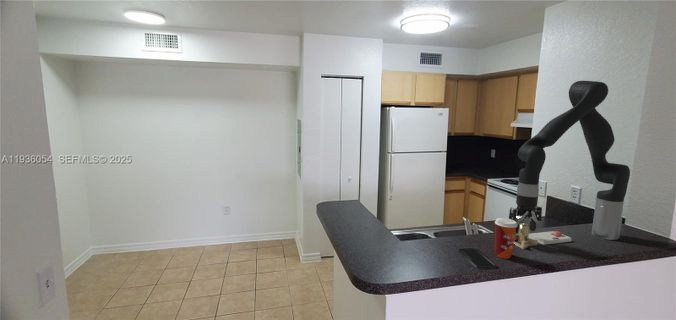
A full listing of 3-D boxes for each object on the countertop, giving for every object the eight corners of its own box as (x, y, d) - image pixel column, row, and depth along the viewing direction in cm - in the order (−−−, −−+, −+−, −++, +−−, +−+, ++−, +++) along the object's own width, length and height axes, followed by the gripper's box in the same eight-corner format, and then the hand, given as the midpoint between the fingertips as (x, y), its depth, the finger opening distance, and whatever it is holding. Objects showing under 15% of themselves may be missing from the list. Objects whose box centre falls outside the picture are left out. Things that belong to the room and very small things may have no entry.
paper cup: (505, 261, 115) (509, 225, 113) (487, 253, 122) (490, 219, 120) (519, 257, 119) (522, 222, 117) (500, 249, 125) (503, 216, 123)
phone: (476, 248, 125) (498, 266, 110) (476, 250, 125) (497, 269, 110) (457, 248, 124) (476, 266, 109) (457, 251, 124) (476, 269, 110)
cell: (529, 244, 130) (531, 224, 128) (522, 245, 129) (524, 225, 127) (522, 240, 133) (524, 221, 132) (515, 241, 132) (517, 222, 131)
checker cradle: (553, 236, 140) (554, 230, 139) (570, 243, 132) (571, 237, 132) (527, 239, 136) (527, 233, 136) (543, 246, 129) (544, 240, 128)
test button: (556, 238, 137) (557, 230, 136) (562, 240, 134) (563, 233, 134) (550, 238, 136) (551, 231, 136) (557, 241, 133) (558, 233, 133)
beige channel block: (522, 240, 135) (522, 233, 135) (537, 247, 128) (537, 240, 128) (508, 241, 134) (509, 234, 133) (523, 248, 126) (523, 241, 126)
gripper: (520, 197, 122) (516, 236, 125) (549, 195, 126) (545, 233, 128) (505, 192, 130) (502, 229, 132) (533, 190, 133) (530, 226, 136)
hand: (523, 231), depth 130 cm, fingers open, 8 cm apart
